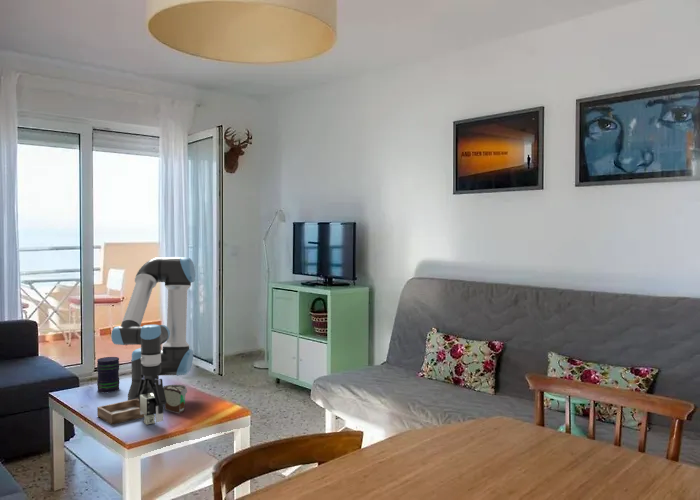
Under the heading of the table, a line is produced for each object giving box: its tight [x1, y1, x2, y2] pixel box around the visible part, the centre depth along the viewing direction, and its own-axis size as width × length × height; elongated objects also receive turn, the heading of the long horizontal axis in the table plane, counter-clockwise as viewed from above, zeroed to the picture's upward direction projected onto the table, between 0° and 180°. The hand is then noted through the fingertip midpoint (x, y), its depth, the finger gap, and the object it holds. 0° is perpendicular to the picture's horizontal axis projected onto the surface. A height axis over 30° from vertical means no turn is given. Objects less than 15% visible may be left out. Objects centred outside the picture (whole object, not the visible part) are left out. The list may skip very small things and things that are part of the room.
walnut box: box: [96, 399, 144, 425], centre depth 234 cm, size 17×14×4 cm
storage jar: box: [96, 356, 120, 393], centre depth 273 cm, size 10×10×15 cm
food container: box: [163, 384, 188, 414], centre depth 243 cm, size 12×6×10 cm, turn 56°
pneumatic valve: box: [139, 393, 157, 426], centre depth 225 cm, size 6×12×12 cm, turn 39°
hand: (151, 417), depth 226 cm, fingers open, 13 cm apart
